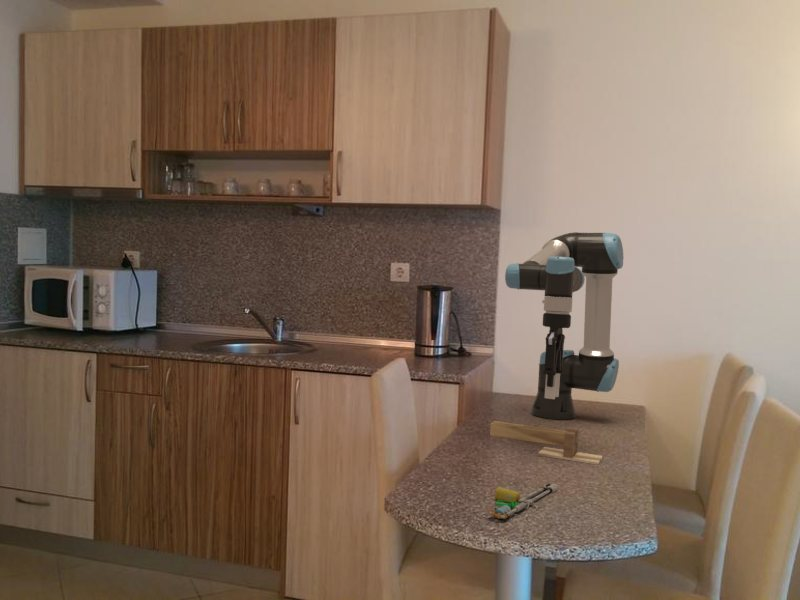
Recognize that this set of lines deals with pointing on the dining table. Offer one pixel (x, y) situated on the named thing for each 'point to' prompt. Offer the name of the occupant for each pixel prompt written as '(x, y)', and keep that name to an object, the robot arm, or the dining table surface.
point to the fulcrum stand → (571, 450)
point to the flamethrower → (517, 500)
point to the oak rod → (527, 433)
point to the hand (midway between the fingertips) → (551, 397)
